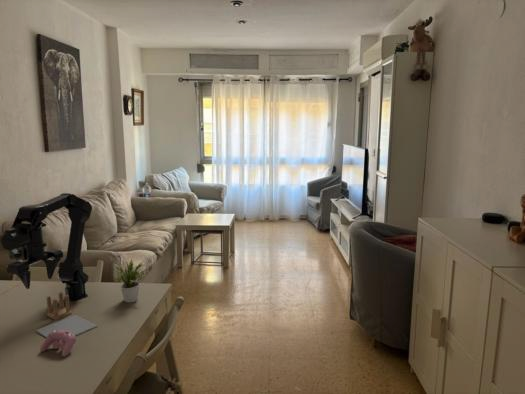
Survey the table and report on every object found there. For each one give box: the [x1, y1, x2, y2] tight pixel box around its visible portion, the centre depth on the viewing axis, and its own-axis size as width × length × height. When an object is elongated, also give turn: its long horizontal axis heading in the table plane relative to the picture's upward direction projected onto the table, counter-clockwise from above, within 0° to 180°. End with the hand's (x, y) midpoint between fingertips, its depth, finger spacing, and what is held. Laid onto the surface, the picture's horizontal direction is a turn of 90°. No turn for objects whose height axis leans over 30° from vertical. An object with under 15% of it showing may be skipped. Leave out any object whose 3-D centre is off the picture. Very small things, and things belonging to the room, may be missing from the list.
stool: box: [46, 292, 72, 321], centre depth 145 cm, size 6×6×7 cm
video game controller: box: [40, 330, 77, 358], centre depth 122 cm, size 10×5×7 cm, turn 71°
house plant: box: [114, 258, 149, 303], centre depth 156 cm, size 14×14×16 cm
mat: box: [35, 314, 98, 343], centre depth 135 cm, size 14×14×1 cm
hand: (39, 283), depth 142 cm, fingers open, 9 cm apart
